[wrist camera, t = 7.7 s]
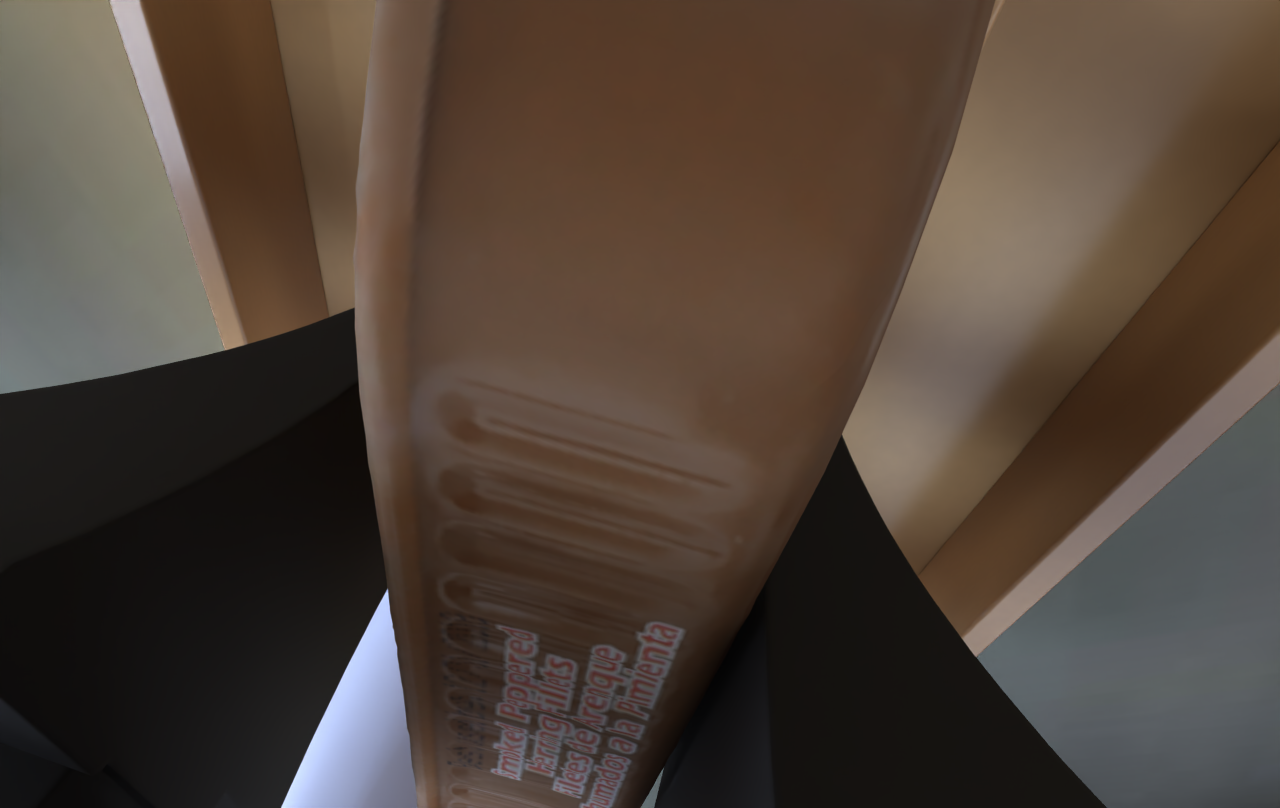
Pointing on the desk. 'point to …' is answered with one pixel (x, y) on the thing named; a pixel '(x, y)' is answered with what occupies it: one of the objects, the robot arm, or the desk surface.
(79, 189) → the desk surface
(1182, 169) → the rack
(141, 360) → the desk surface
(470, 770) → the tin
